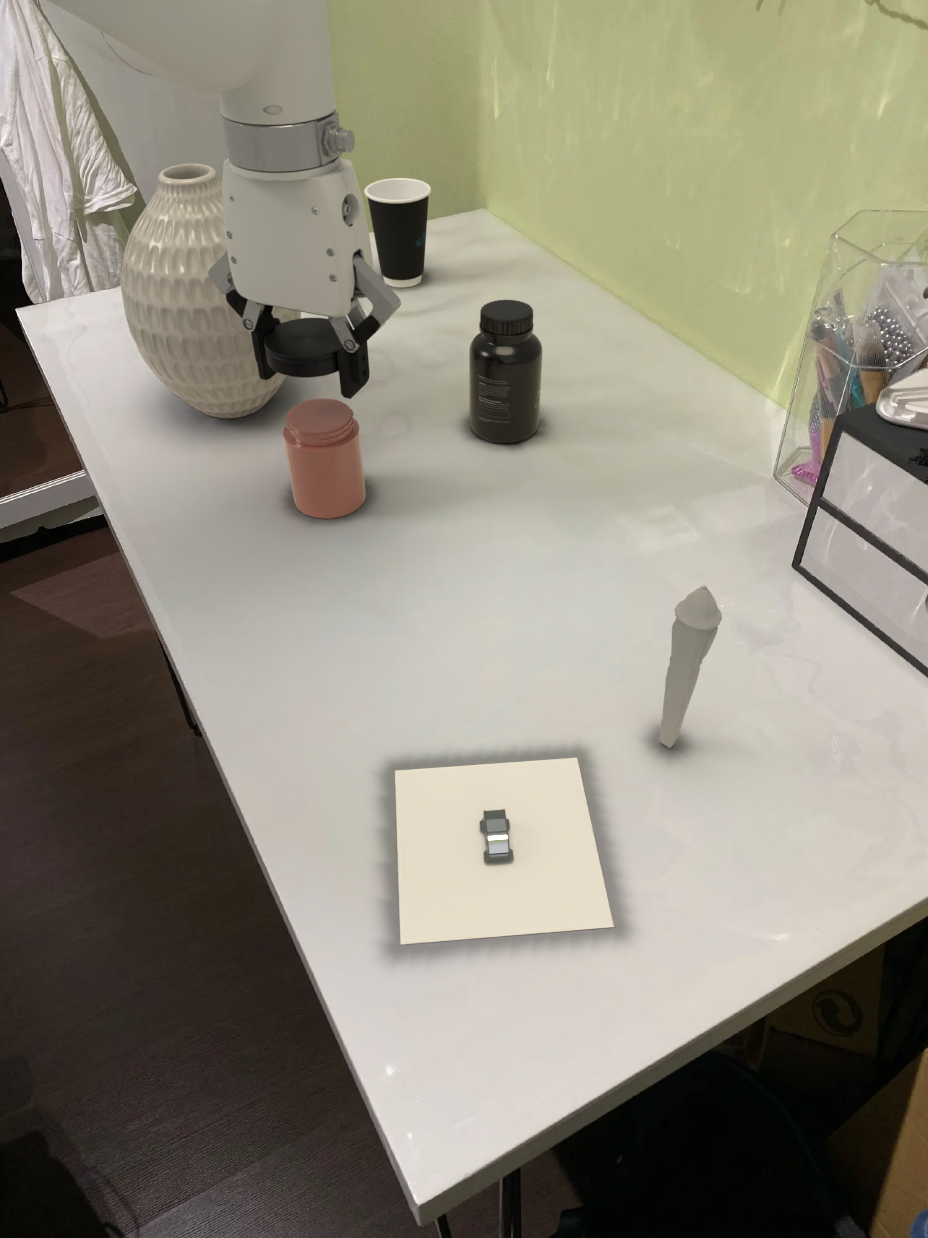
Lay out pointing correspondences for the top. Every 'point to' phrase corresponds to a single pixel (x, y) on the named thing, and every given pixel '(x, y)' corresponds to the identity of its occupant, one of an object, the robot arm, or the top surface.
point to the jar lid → (303, 348)
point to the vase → (191, 299)
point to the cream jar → (324, 458)
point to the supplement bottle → (505, 373)
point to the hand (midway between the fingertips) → (313, 379)
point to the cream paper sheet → (496, 852)
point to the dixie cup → (399, 228)
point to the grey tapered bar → (687, 657)
